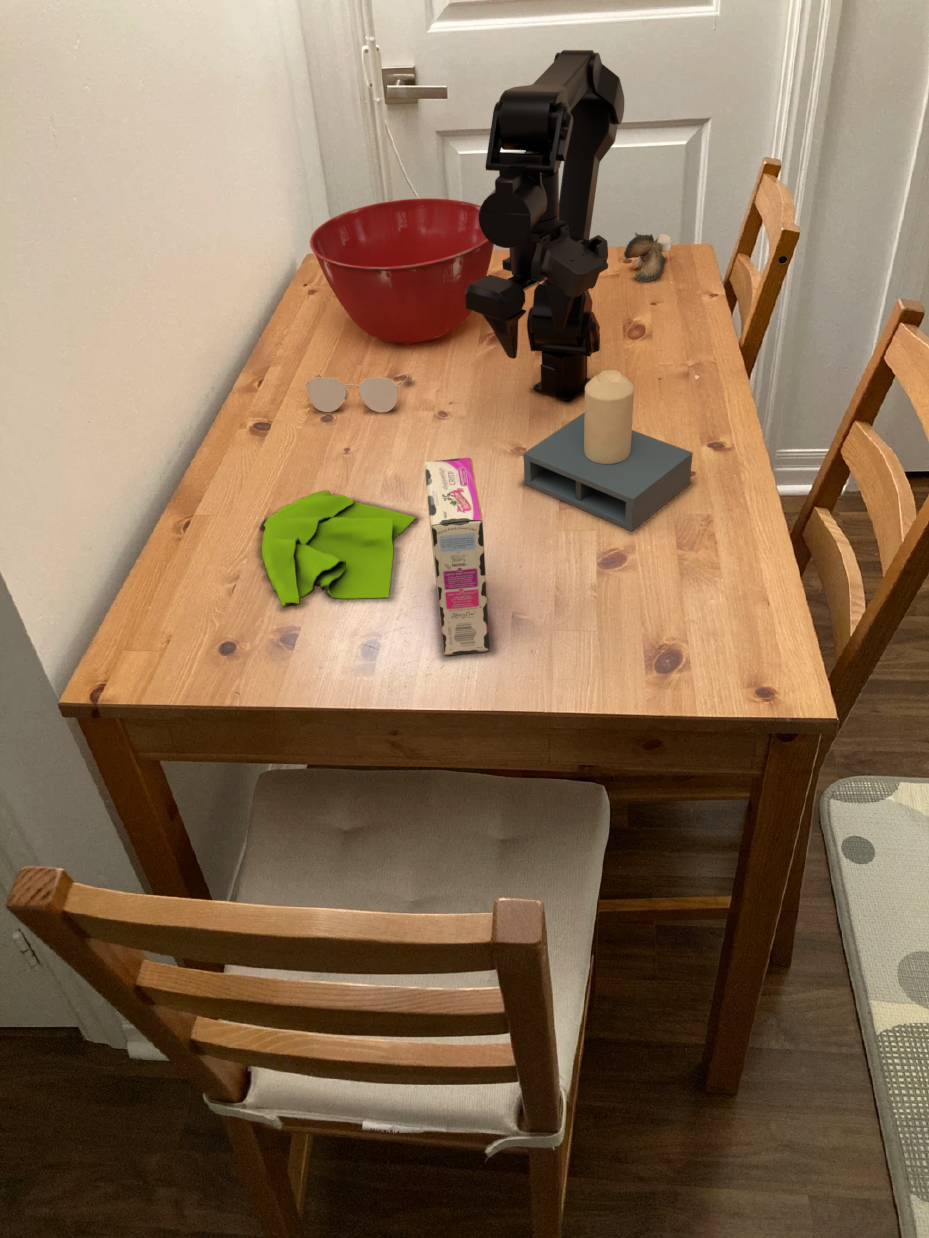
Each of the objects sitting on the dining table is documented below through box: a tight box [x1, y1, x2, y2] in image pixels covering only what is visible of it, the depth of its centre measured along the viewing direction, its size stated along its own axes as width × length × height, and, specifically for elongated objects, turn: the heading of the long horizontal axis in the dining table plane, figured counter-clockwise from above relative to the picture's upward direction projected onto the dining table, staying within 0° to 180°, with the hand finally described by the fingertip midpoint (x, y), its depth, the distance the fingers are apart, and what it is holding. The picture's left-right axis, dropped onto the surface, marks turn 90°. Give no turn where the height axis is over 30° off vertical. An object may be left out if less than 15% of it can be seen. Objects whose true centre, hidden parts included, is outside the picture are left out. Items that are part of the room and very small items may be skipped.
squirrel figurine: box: [623, 232, 673, 283], centre depth 164 cm, size 8×7×9 cm
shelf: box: [523, 411, 693, 532], centre depth 118 cm, size 12×16×4 cm
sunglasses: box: [303, 374, 411, 414], centre depth 139 cm, size 14×8×5 cm, turn 82°
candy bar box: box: [424, 457, 491, 656], centre depth 97 cm, size 11×5×16 cm, turn 5°
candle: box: [584, 369, 635, 464], centre depth 113 cm, size 6×6×10 cm
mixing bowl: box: [309, 197, 495, 346], centre depth 151 cm, size 28×28×16 cm
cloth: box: [261, 490, 416, 607], centre depth 112 cm, size 20×22×2 cm
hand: (536, 343), depth 120 cm, fingers open, 9 cm apart
